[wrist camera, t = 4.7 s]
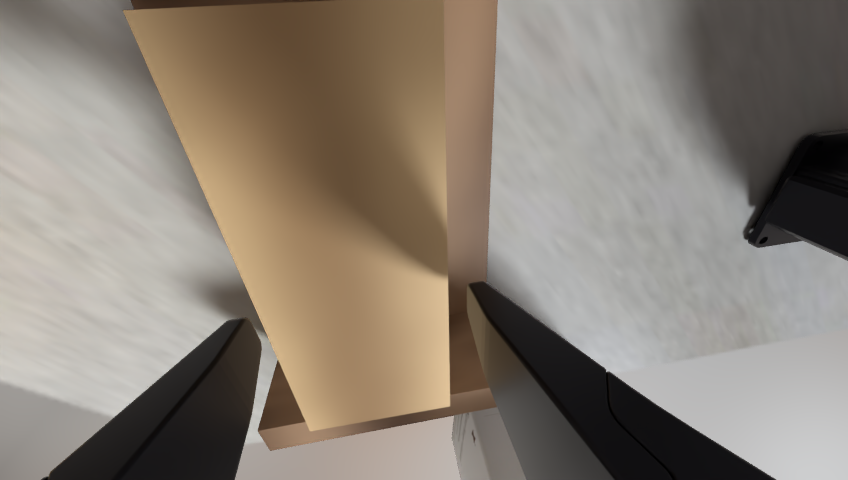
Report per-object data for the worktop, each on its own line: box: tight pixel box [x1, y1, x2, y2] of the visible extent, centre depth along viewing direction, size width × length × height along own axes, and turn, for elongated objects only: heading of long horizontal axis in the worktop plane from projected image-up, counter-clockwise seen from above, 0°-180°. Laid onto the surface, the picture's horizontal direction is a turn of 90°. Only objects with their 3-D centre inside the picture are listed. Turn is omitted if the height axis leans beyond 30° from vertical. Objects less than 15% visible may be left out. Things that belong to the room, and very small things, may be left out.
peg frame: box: [131, 0, 498, 451], centre depth 12 cm, size 11×18×5 cm, turn 4°
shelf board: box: [123, 0, 450, 431], centre depth 10 cm, size 5×12×3 cm, turn 3°
